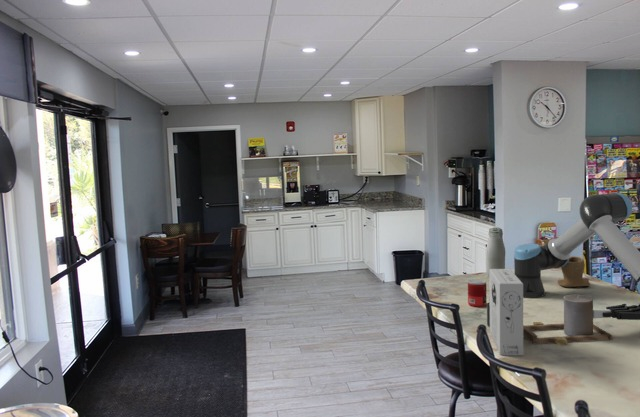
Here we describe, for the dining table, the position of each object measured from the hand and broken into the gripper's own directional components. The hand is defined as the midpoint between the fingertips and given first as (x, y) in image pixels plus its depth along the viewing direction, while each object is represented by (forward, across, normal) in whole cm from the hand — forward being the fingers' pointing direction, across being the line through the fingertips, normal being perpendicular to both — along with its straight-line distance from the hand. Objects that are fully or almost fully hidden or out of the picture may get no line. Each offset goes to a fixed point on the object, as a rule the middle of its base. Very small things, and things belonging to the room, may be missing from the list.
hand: (592, 314), depth 184 cm
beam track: (+11, +1, -7) cm, 13 cm away
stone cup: (-29, +63, -8) cm, 69 cm away
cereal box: (+35, -5, -8) cm, 36 cm away
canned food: (+28, +42, -8) cm, 51 cm away
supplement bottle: (+31, +14, -8) cm, 35 cm away
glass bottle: (+2, +85, -8) cm, 85 cm away
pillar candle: (+5, +1, -8) cm, 9 cm away
